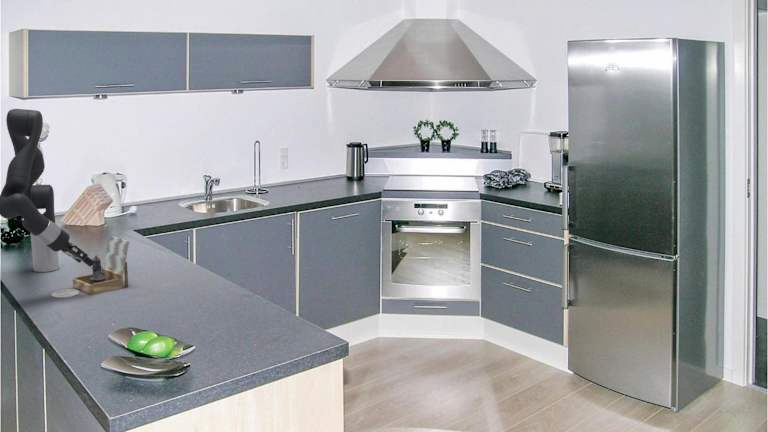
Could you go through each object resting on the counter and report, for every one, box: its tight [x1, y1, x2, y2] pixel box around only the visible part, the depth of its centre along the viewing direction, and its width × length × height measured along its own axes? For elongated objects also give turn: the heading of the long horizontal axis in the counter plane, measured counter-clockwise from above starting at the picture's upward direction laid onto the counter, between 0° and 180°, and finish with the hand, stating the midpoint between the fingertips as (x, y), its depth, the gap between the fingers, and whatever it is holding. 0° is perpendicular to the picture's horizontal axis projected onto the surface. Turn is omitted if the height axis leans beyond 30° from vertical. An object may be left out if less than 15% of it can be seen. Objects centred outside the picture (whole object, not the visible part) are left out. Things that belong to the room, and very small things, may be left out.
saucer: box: [51, 288, 80, 299], centre depth 286 cm, size 9×9×1 cm
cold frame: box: [72, 235, 130, 295], centre depth 294 cm, size 14×15×17 cm
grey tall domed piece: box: [89, 254, 106, 285], centre depth 293 cm, size 6×6×12 cm
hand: (86, 262), depth 290 cm, fingers open, 8 cm apart
